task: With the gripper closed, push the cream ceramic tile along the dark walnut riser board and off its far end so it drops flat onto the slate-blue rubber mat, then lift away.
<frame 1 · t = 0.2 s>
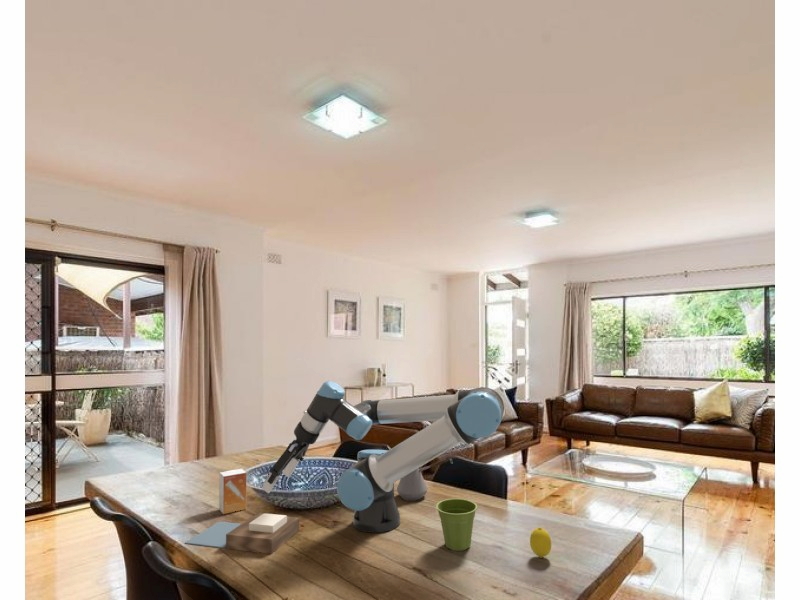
hand: (276, 482, 150), 15 cm above the table, tool tilted 35°, fingers open, 13 cm apart
ceramic tile: (268, 526, 144), point 4 cm above the table, touching riser board
small box: (232, 510, 169), on the table
plant pot: (457, 546, 137), on the table
riser board: (263, 539, 144), on the table
coffee pot: (425, 498, 176), on the table
lemon: (541, 558, 128), on the table
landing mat: (221, 534, 148), on the table
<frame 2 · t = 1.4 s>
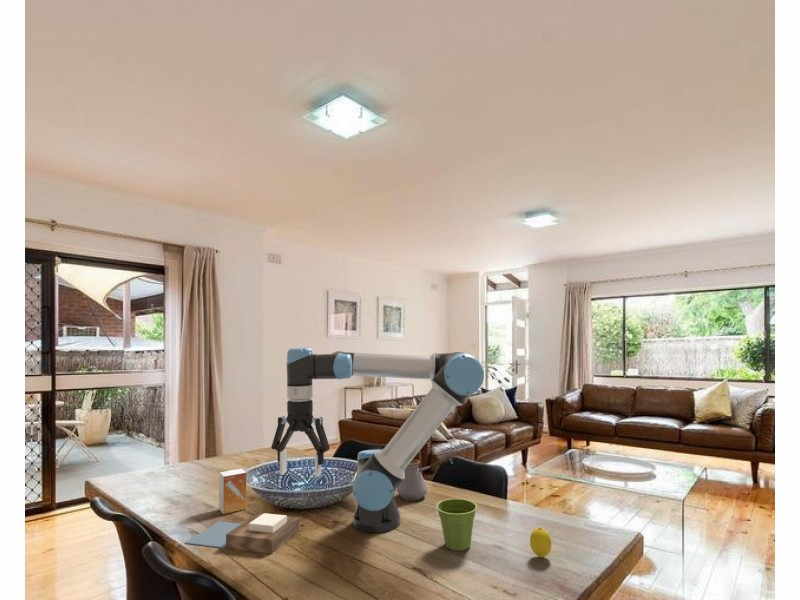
hand: (300, 474, 142), 20 cm above the table, tool pointing down, fingers open, 11 cm apart
nothing on the table moved.
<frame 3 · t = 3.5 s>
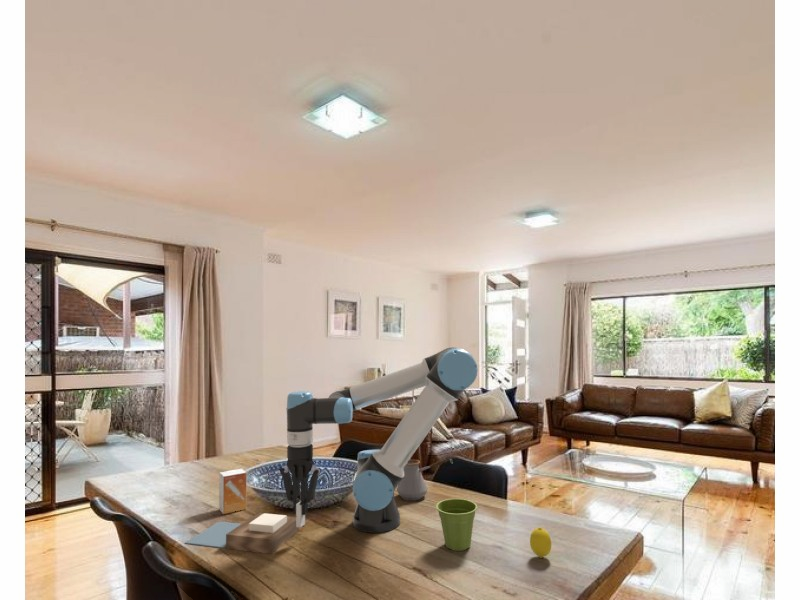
hand: (300, 525, 141), 5 cm above the table, tool pointing down, fingers closed
nothing on the table moved.
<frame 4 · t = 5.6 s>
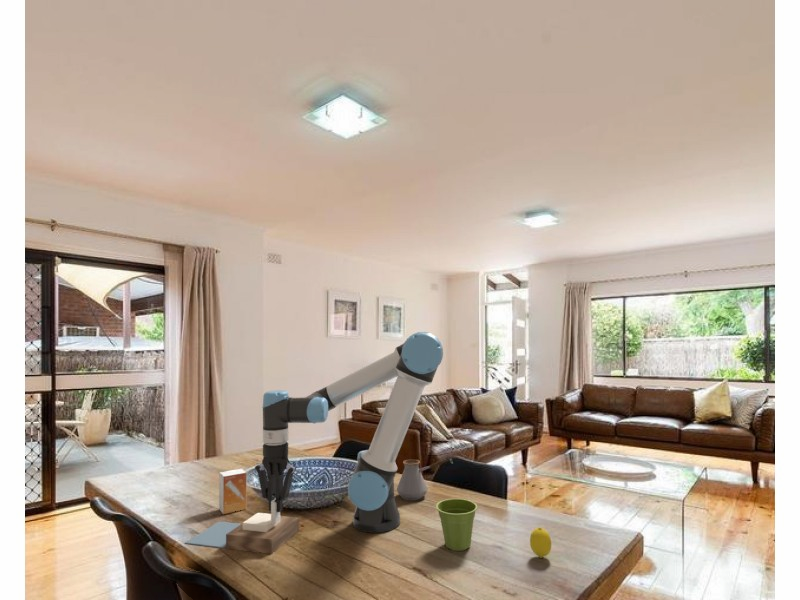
hand: (275, 522, 143), 5 cm above the table, tool pointing down, fingers closed
ceramic tile: (262, 525, 144), point 4 cm above the table, touching gripper
everything else where it was.
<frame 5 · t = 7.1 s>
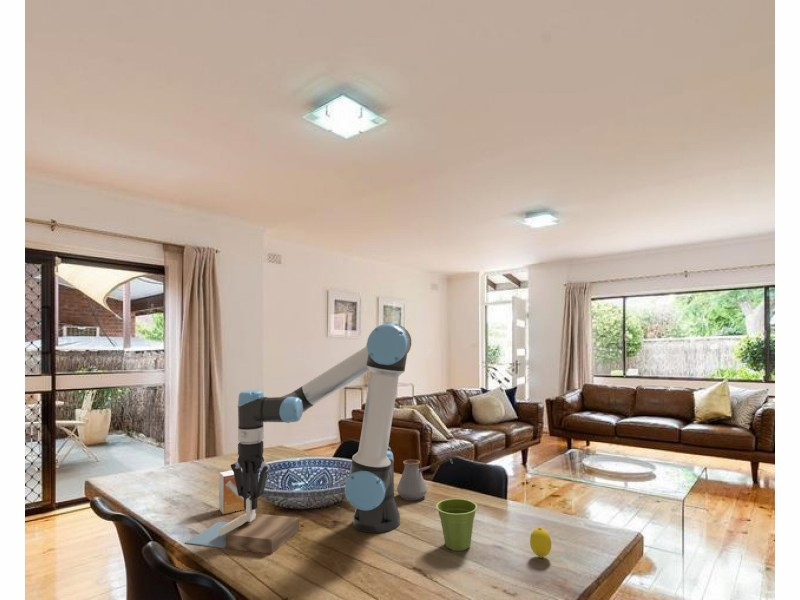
hand: (250, 519, 145), 5 cm above the table, tool pointing down, fingers closed
ceramic tile: (238, 525, 147), point 3 cm above the table, tilted 28°
everything else where it was.
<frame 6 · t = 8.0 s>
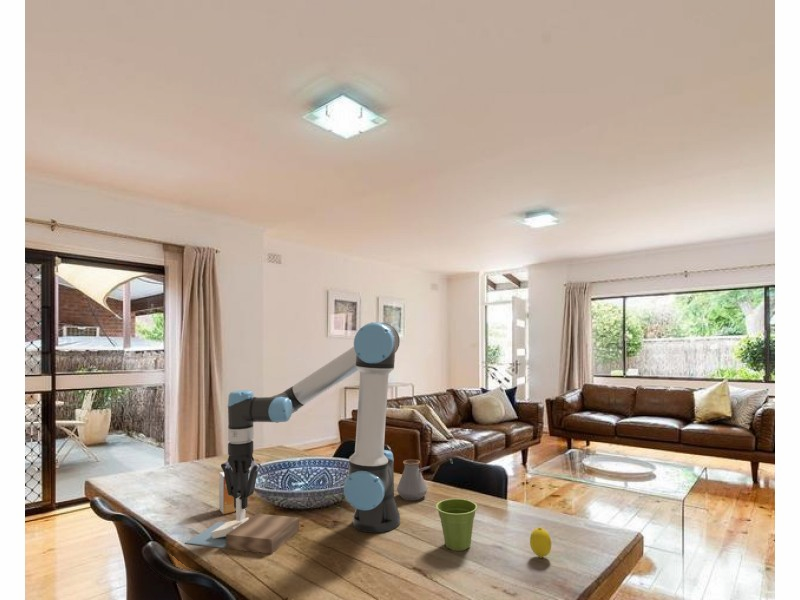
hand: (240, 518, 146), 5 cm above the table, tool pointing down, fingers closed
ceramic tile: (231, 531, 147), point 1 cm above the table, tilted 15°, touching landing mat, riser board
everything else where it was.
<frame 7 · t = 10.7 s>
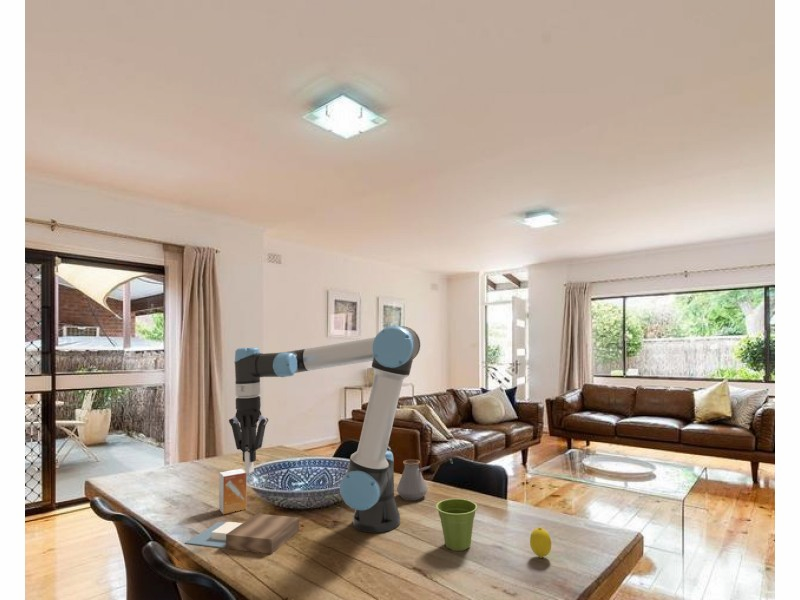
hand: (249, 472, 150), 19 cm above the table, tool pointing down, fingers closed
ceramic tile: (230, 534, 147), resting on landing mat
everything else where it was.
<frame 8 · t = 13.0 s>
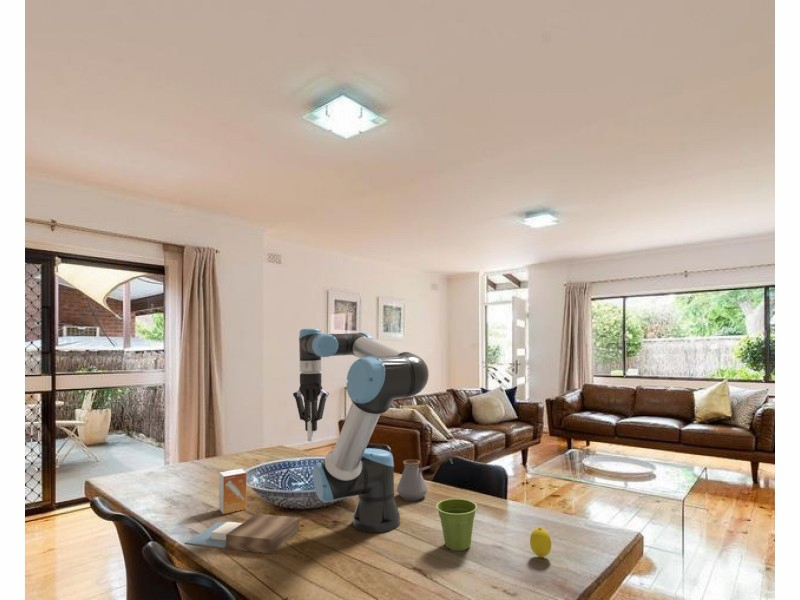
hand: (311, 440, 166), 24 cm above the table, tool pointing down, fingers closed
nothing on the table moved.
at the end: ceramic tile inside the target area (3.3 cm from its centre), resting on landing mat; ceramic tile tilted 0° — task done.
